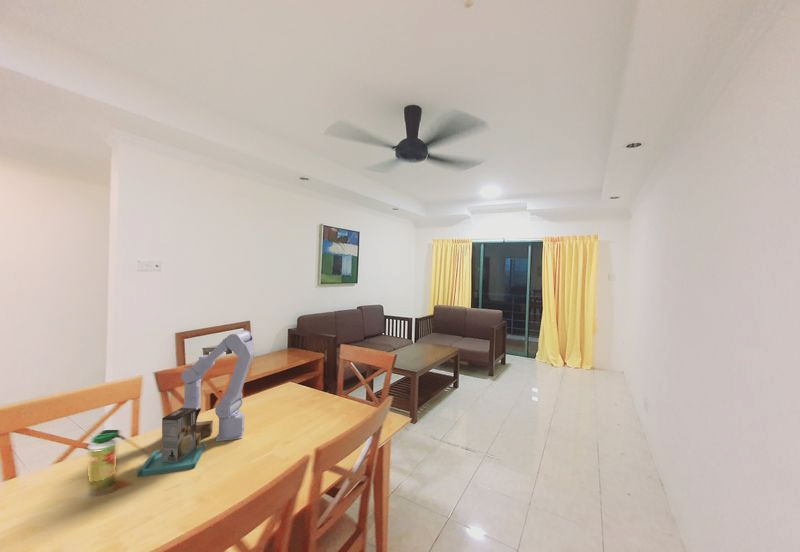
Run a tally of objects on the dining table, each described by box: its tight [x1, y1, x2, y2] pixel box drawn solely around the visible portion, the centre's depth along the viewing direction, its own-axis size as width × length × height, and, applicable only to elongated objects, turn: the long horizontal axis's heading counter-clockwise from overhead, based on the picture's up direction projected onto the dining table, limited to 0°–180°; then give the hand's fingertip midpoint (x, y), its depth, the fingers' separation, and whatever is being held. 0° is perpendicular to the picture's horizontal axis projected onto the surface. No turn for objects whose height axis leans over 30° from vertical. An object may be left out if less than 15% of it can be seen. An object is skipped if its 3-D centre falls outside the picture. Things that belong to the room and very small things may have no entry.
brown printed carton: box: [196, 420, 214, 447], centre depth 123 cm, size 16×10×5 cm, turn 109°
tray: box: [137, 443, 206, 477], centre depth 111 cm, size 16×13×2 cm
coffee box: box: [161, 407, 197, 463], centre depth 114 cm, size 9×6×16 cm
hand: (191, 427), depth 129 cm, fingers closed
